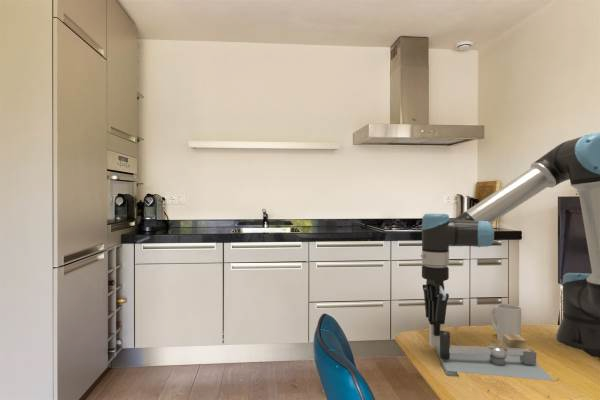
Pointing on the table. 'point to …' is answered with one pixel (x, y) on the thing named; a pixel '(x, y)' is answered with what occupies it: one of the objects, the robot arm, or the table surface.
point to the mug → (506, 320)
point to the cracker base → (491, 366)
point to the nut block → (514, 342)
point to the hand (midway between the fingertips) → (434, 345)
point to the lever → (484, 350)
